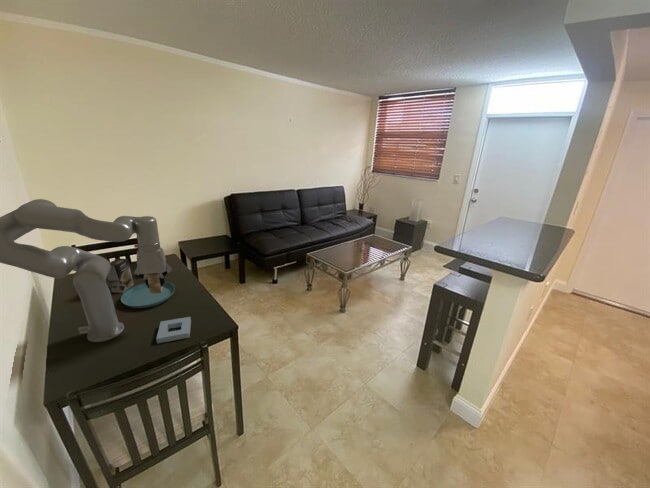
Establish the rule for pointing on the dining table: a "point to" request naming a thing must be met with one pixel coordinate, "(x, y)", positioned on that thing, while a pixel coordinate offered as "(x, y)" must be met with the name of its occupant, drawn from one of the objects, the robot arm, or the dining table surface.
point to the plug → (154, 283)
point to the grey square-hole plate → (174, 335)
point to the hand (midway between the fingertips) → (155, 285)
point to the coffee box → (120, 276)
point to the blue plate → (146, 296)
